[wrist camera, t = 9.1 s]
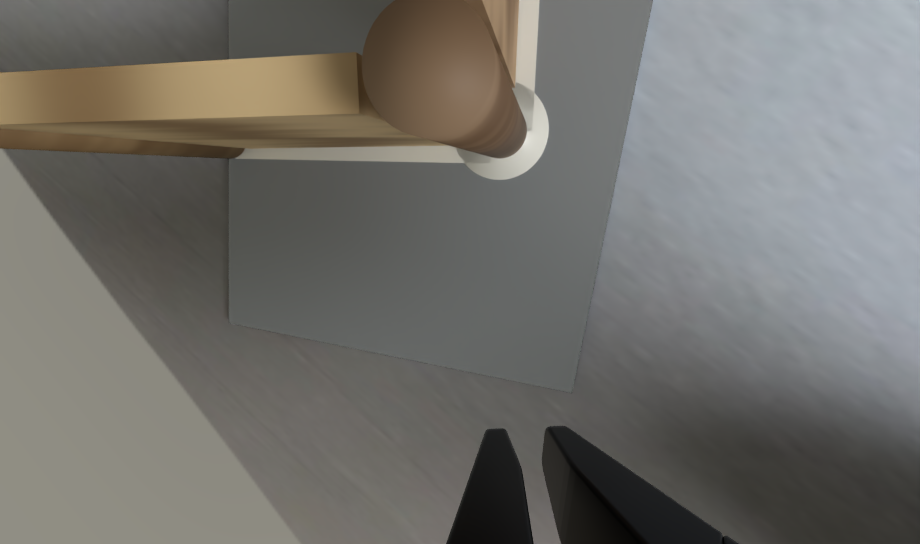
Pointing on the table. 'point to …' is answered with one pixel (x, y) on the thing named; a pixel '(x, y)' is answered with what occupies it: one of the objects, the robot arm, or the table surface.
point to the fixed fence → (448, 72)
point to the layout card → (440, 203)
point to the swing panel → (196, 108)
